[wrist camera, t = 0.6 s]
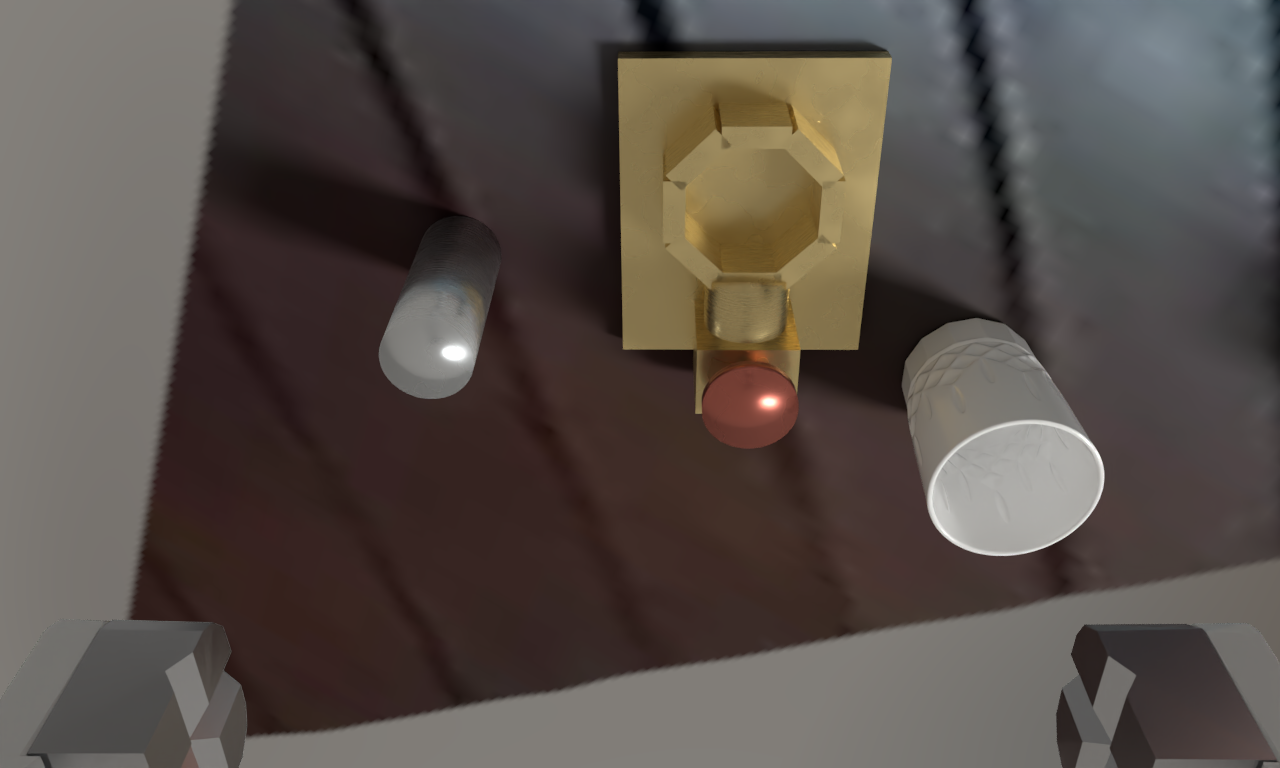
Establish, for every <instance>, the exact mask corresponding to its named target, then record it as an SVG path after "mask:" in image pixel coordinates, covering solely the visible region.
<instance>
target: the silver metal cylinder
mask: <svg viewBox="0 0 1280 768" xmlns="http://www.w3.org/2000/svg"><path fill="white" fill-rule="evenodd" d="M500 263H501V248H500V244H499V242H498V240H497V238H496V236H495V235H494V233H493V232H492V231H491V230H490V229H489V228H488V227H487V226H486V225H484V224H483V223H481V222H480V221H478V220H475V219H473V218H470V217H466V216H449V217H445V218H442V219H440V220H438V221H436V222H435V223H433V224H432V225H431V226H430V227H429V228H428V229H427V230H426V232H425V234H424V236H423V238H422V241H421V243H420V246H419V248H418V251H417V253H416V256H415V258H414V261H413V263H412V266H411V268H410V271H409V273H408V276H407V278H406V281H405V284H404V286H403V289H402V291H401V294H400V296H399V299H398V301H397V304H396V306H395V309H394V311H393V314H392V316H391V319H390V321H389V324H388V326H387V329H386V332H385V334H384V337H383V339H382V342H381V344H380V348H379V360H380V365H381V367H382V370H383V372H384V373H385V375H386V376H387V378H388V379H389V380H390V381H391V382H392V383H393V384H394V385H395V386H396V387H397V388H399V389H400V390H402V391H404V392H406V393H407V394H410V395H413V396H416V397H419V398H426V399H438V398H444V397H447V396H450V395H452V394H454V393H456V392H458V391H459V390H461V389H462V388H463V387H464V386H465V385H466V384H467V382H468V381H469V379H470V377H471V375H472V372H473V368H474V364H475V360H476V357H477V353H478V349H479V345H480V341H481V337H482V333H483V329H484V325H485V321H486V317H487V314H488V310H489V306H490V302H491V298H492V294H493V290H494V286H495V282H496V278H497V274H498V270H499V267H500Z"/></svg>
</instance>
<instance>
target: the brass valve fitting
mask: <svg viewBox="0 0 1280 768" xmlns="http://www.w3.org/2000/svg"><path fill="white" fill-rule="evenodd" d="M891 61H892V57H891V55H890V54H889V52H888V51H682V52H618V94H619V150H620V205H621V261H622V317H623V349H670V350H693V371H694V393H695V414H702V417H703V420H704V423H705V425H706V427H707V429H708V430H709V431H710V433H711V434H712V435H713V436H714V437H715V438H717V439H718V440H720V441H721V442H723V443H725V444H727V445H730V446H733V447H738V448H759V447H763V446H767V445H769V444H772V443H774V442H776V441H778V440H779V439H781V438H782V437H783V436H784V435H786V434H787V433H788V432H789V430H790V429H791V428H792V426H793V425H794V423H795V421H796V418H797V415H798V408H799V405H798V398H797V387H798V375H799V363H800V351H801V350H858V346H859V337H860V329H861V320H862V311H863V303H864V294H865V285H866V277H867V268H868V260H869V251H870V242H871V234H872V225H873V216H874V208H875V199H876V190H877V182H878V173H879V165H880V156H881V147H882V139H883V130H884V121H885V113H886V104H887V95H888V87H889V78H890V70H891Z"/></svg>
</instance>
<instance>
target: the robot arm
mask: <svg viewBox="0 0 1280 768" xmlns="http://www.w3.org/2000/svg"><path fill="white" fill-rule="evenodd" d="M230 653H231V649H230V646H229V643H228V640H227V637H226V634H225V631H224V628H223V626H221V625H218V624H215V623H211V622H175V621H139V620H112V621H97V620H96V621H95V620H67V619H66V620H64V619H60V620H59V621H57V622H56V623H54V624H53V625H51V626H50V627H48V628H47V629H46V630H45V631H44V632H43V634H42V635H41V637H40V639H39V640H38V641H37V643H36V645H35V646H34V648H33V649H32V651H31V652H30V654H29V656H28V657H27V659H26V660H25V662H24V663H23V665H22V666H21V668H20V669H19V671H18V672H17V674H16V676H15V677H14V679H13V680H12V682H11V683H10V685H9V686H8V688H7V690H6V691H5V693H4V694H3V696H2V697H1V699H0V768H239V765H240V762H241V759H242V757H243V750H244V743H245V737H246V730H247V717H246V703H245V699H244V695H243V691H242V688H241V685H240V684H239V683H238V682H237V681H236V680H234V679H233V678H232V677H231V676H229V675H228V674H227V673H226V672H225V671H223V670H224V667H225V665H226V663H227V660H228V658H229V656H230ZM1071 655H1072V658H1073V661H1074V663H1075V665H1076V668H1077V670H1078V673H1079V675H1078V676H1077V677H1075V678H1074V679H1073V680H1072V681H1070V682H1069V683H1068V684H1067V685H1065V686H1064V687H1063V688H1062V691H1061V695H1060V700H1059V705H1058V709H1057V713H1056V721H1057V745H1058V750H1059V755H1060V760H1061V765H1062V768H1280V663H1279V661H1278V660H1277V658H1276V656H1275V655H1274V653H1273V652H1272V650H1271V649H1270V647H1269V645H1268V644H1267V642H1266V641H1265V639H1264V638H1263V636H1262V634H1261V633H1260V631H1258V630H1257V629H1256V628H1254V627H1253V626H1251V625H1250V624H1248V623H1239V624H1238V623H1237V624H1236V623H1234V624H1233V623H1231V624H1230V623H1228V624H1192V625H1187V624H1121V625H1120V624H1119V625H1118V624H1116V625H1084V626H1083V627H1082V629H1081V630H1080V631H1079V633H1078V634H1077V636H1076V639H1075V643H1074V646H1073V650H1072V653H1071Z"/></svg>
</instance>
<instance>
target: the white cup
mask: <svg viewBox="0 0 1280 768" xmlns="http://www.w3.org/2000/svg"><path fill="white" fill-rule="evenodd" d="M902 390H903V394H904V398H905V402H906V405H907V413H908V423H909V428H910V432H911V436H912V443H913V448H914V452H915V456H916V460H917V465H918V469H919V473H920V477H921V481H922V485H923V490H924V494H925V498H926V503H927V507H928V511H929V515H930V517H931V520H932V522H933V523H934V525H935V527H936V528H937V529H938V531H939V532H940V533H941V534H942V535H943V536H944V537H945V538H947V539H948V540H949V541H951V542H952V543H954V544H955V545H957V546H959V547H961V548H963V549H966V550H968V551H971V552H975V553H979V554H984V555H993V556H1009V555H1018V554H1024V553H1029V552H1033V551H1036V550H1039V549H1042V548H1045V547H1047V546H1049V545H1052V544H1054V543H1056V542H1058V541H1059V540H1061V539H1063V538H1064V537H1066V536H1068V535H1069V534H1070V533H1072V532H1073V531H1074V530H1076V529H1077V528H1078V527H1079V526H1080V525H1081V524H1082V523H1083V522H1084V521H1085V520H1086V519H1087V518H1088V517H1089V515H1090V514H1091V513H1092V511H1093V510H1094V508H1095V507H1096V505H1097V503H1098V501H1099V499H1100V496H1101V493H1102V490H1103V485H1104V468H1103V463H1102V460H1101V457H1100V455H1099V453H1098V451H1097V449H1096V448H1095V446H1094V445H1093V443H1092V442H1091V440H1090V438H1089V437H1088V435H1087V434H1086V432H1085V431H1084V429H1083V427H1082V426H1081V424H1080V423H1079V421H1078V419H1077V418H1076V416H1075V414H1074V413H1073V411H1072V410H1071V408H1070V406H1069V405H1068V403H1067V401H1066V400H1065V398H1064V397H1063V395H1062V394H1061V392H1060V391H1059V389H1058V388H1057V386H1056V385H1055V384H1054V382H1053V381H1052V379H1051V378H1050V376H1049V374H1048V373H1047V371H1046V370H1045V369H1044V368H1043V366H1042V365H1041V364H1040V363H1039V362H1038V360H1037V359H1036V358H1035V356H1034V354H1033V353H1032V351H1031V350H1030V348H1029V346H1028V345H1027V343H1026V341H1025V340H1024V339H1023V338H1021V337H1020V336H1019V335H1018V334H1017V333H1015V332H1014V331H1013V330H1012V329H1010V328H1009V327H1008V326H1007V325H1005V324H1003V323H999V322H994V321H989V320H985V319H980V318H973V319H967V320H962V321H956V322H951V323H947V324H945V325H943V326H941V327H940V328H938V329H937V330H935V331H933V332H932V333H930V334H928V335H927V336H925V337H923V338H922V339H921V340H920V341H919V343H918V344H917V345H916V347H915V348H914V350H913V351H912V352H911V354H910V355H909V356H908V358H907V359H906V361H905V366H904V372H903V379H902Z"/></svg>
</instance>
